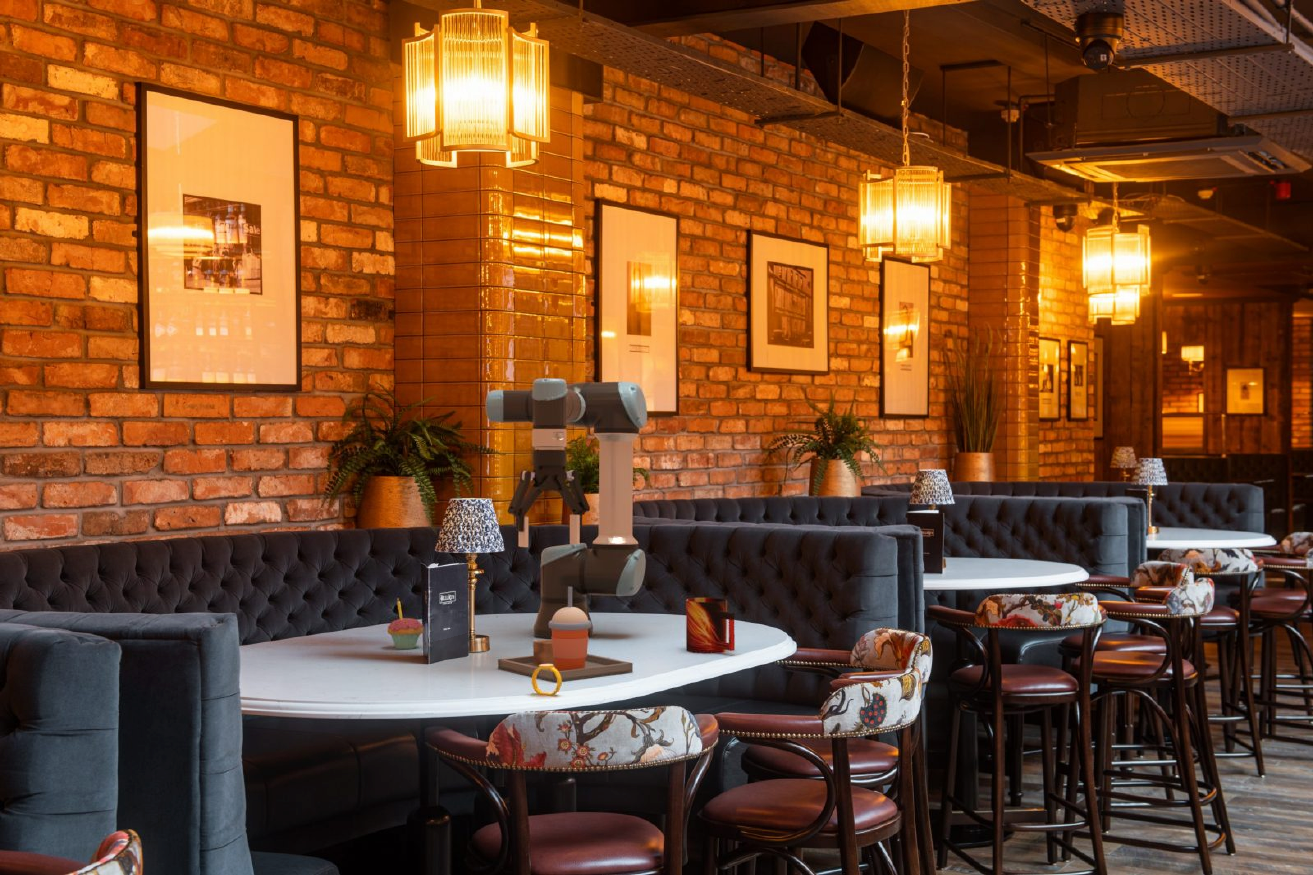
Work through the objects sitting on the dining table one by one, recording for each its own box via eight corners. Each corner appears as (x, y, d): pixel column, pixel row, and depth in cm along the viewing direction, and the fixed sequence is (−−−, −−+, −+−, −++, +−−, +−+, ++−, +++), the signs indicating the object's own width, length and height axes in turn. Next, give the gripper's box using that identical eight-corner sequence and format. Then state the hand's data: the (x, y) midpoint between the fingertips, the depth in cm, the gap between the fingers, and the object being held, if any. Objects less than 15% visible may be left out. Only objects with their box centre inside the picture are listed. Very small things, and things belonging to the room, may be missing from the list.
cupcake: (398, 651, 324) (398, 600, 324) (380, 647, 331) (381, 597, 331) (430, 648, 330) (430, 598, 330) (412, 644, 336) (412, 594, 336)
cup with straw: (554, 676, 286) (554, 589, 286) (543, 669, 295) (544, 585, 295) (596, 674, 289) (596, 588, 289) (584, 667, 298) (585, 584, 298)
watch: (530, 696, 269) (528, 665, 269) (537, 694, 271) (535, 663, 272) (557, 696, 266) (555, 665, 267) (564, 694, 269) (562, 663, 269)
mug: (733, 656, 318) (733, 604, 318) (679, 651, 324) (679, 601, 324) (749, 650, 327) (749, 600, 327) (696, 646, 333) (696, 596, 333)
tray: (498, 668, 300) (498, 659, 300) (573, 659, 312) (573, 650, 312) (555, 682, 282) (555, 672, 282) (632, 672, 295) (632, 663, 295)
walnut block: (533, 664, 302) (533, 641, 302) (552, 661, 305) (552, 639, 305) (546, 666, 298) (546, 643, 298) (565, 664, 301) (565, 641, 301)
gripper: (510, 449, 291) (510, 549, 291) (605, 448, 307) (605, 543, 307) (492, 448, 297) (491, 547, 297) (585, 448, 313) (585, 541, 313)
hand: (549, 545), depth 302 cm, fingers open, 13 cm apart
